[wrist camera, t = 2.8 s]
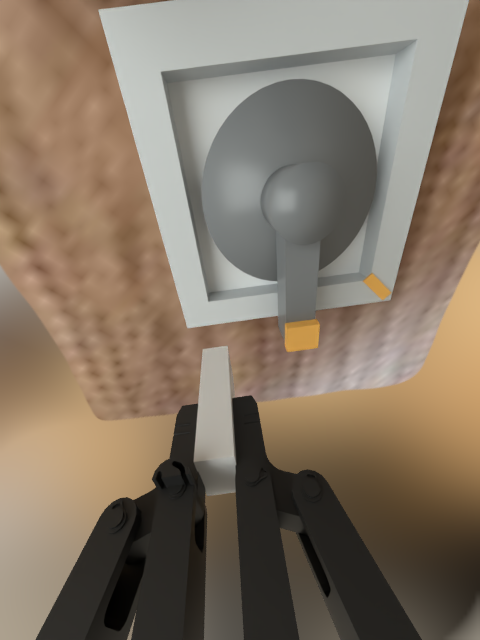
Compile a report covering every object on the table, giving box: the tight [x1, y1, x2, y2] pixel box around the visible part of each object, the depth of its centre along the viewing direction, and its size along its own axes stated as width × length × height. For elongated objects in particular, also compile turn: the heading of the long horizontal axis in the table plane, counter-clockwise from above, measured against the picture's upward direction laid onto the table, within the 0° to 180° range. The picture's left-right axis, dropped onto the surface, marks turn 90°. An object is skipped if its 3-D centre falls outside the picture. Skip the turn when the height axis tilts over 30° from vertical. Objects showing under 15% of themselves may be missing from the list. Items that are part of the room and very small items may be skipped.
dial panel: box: [98, 0, 469, 328], centre depth 19 cm, size 20×20×4 cm
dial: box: [202, 79, 377, 352], centre depth 18 cm, size 18×13×6 cm
